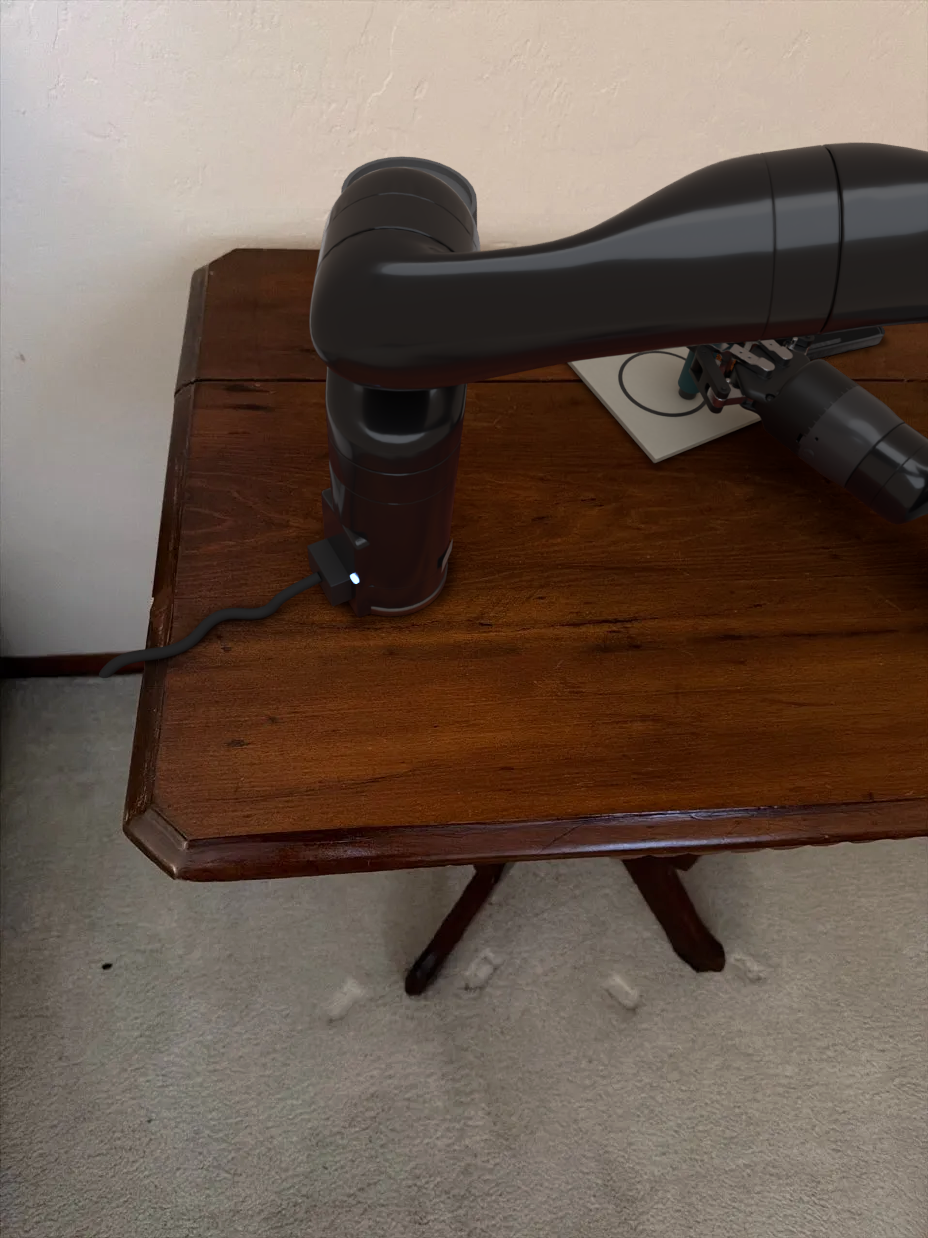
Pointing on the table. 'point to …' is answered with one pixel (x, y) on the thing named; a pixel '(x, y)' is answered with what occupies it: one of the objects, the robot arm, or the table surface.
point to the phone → (844, 341)
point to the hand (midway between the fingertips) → (687, 315)
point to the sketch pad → (657, 402)
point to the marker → (688, 379)
